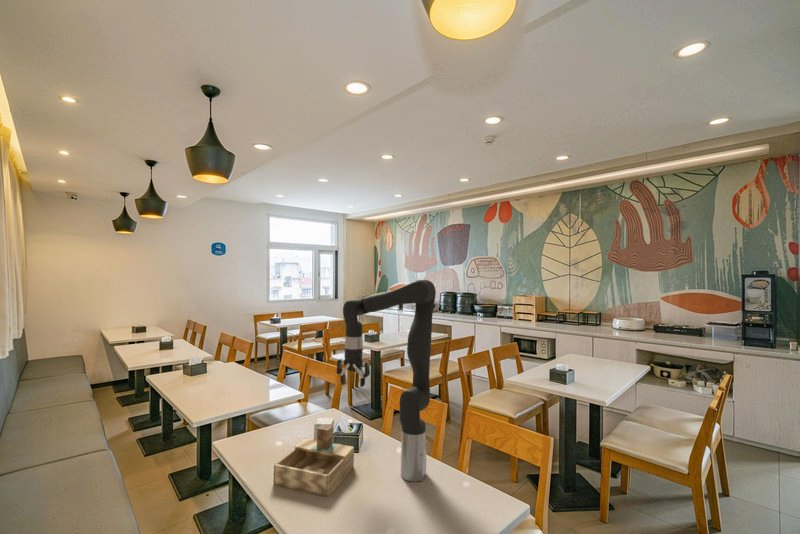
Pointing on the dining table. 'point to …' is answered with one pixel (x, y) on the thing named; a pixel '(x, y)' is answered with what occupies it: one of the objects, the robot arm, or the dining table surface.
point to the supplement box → (320, 422)
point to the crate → (314, 467)
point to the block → (325, 437)
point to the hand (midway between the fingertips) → (352, 385)
